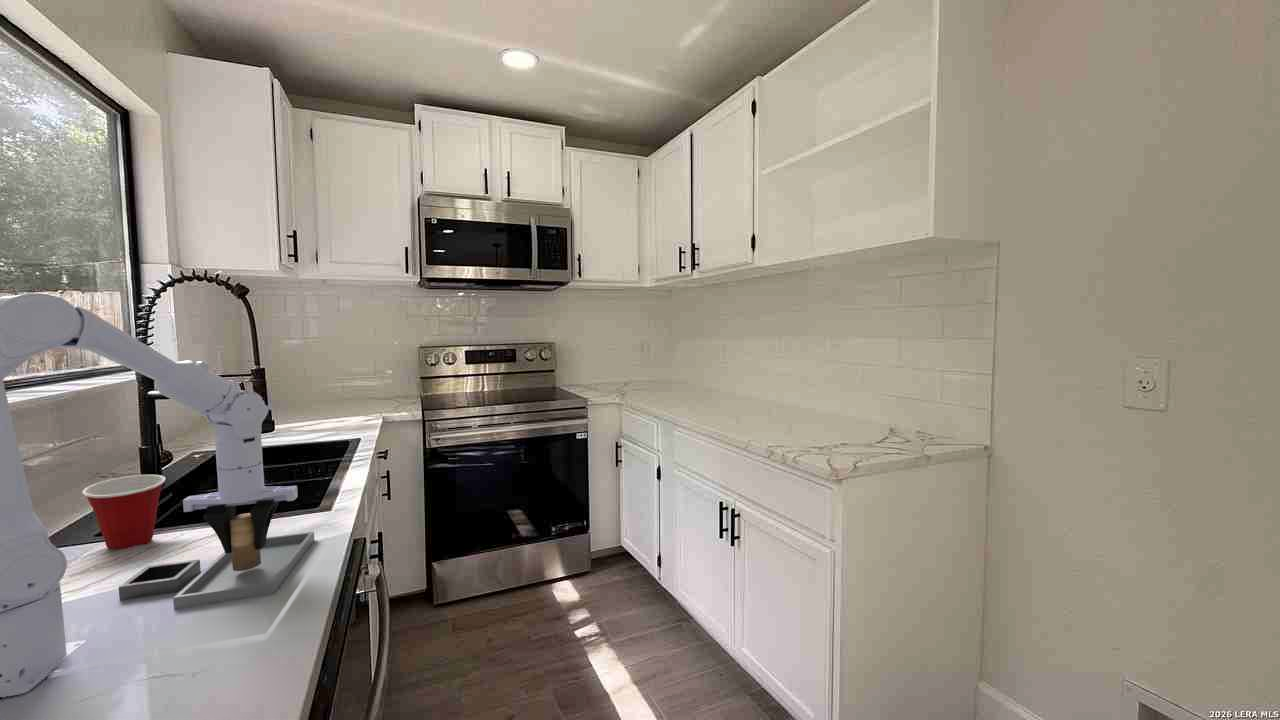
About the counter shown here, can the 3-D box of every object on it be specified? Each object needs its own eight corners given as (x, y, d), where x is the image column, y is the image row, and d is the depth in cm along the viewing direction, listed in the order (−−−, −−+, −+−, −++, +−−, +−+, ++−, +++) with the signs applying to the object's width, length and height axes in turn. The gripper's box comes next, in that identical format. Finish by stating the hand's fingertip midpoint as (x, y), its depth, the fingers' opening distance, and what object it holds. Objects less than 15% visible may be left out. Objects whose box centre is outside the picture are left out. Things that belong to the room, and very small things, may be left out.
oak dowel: (255, 568, 80) (252, 519, 80) (228, 572, 79) (224, 522, 78) (264, 559, 83) (261, 511, 83) (238, 562, 82) (235, 514, 82)
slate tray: (274, 597, 75) (273, 583, 75) (174, 613, 71) (173, 597, 71) (314, 543, 94) (313, 531, 94) (237, 553, 90) (236, 541, 90)
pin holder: (177, 595, 76) (176, 579, 75) (120, 604, 73) (118, 587, 73) (200, 574, 82) (199, 559, 82) (148, 582, 80) (147, 566, 80)
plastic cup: (86, 565, 86) (80, 496, 85) (88, 546, 94) (82, 483, 93) (172, 544, 94) (168, 481, 93) (167, 529, 102) (163, 470, 101)
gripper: (301, 455, 86) (306, 532, 87) (197, 463, 82) (203, 545, 82) (287, 465, 79) (292, 549, 80) (172, 475, 75) (179, 564, 76)
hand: (246, 548), depth 81 cm, fingers closed on oak dowel, 3 cm apart
